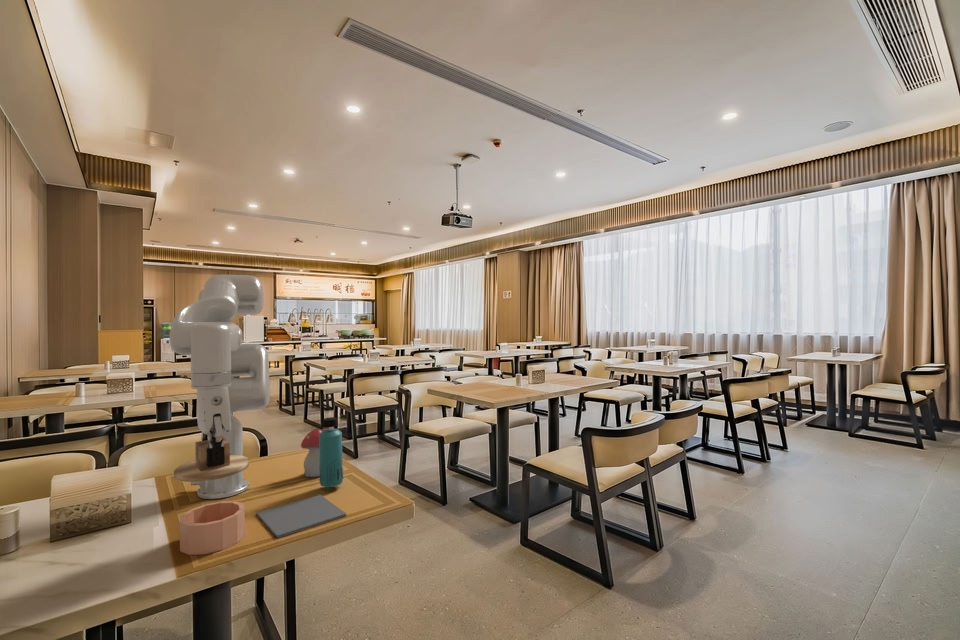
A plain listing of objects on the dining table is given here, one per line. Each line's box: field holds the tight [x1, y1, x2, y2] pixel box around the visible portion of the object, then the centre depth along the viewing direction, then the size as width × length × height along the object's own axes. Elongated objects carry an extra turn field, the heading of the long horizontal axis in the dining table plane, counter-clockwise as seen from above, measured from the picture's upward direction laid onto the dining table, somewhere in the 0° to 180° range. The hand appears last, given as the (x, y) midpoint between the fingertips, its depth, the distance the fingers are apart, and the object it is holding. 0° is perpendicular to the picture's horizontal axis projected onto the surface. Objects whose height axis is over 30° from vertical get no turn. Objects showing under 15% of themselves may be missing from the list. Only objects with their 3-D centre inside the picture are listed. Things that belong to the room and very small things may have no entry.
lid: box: [173, 438, 250, 483], centre depth 96 cm, size 14×14×6 cm
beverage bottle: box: [318, 417, 344, 488], centre depth 125 cm, size 6×7×20 cm
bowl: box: [179, 500, 246, 556], centre depth 96 cm, size 12×12×6 cm
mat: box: [256, 494, 347, 539], centre depth 108 cm, size 16×16×1 cm
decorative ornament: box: [300, 426, 331, 478], centre depth 136 cm, size 9×7×15 cm
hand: (212, 461), depth 96 cm, fingers closed on lid, 5 cm apart
